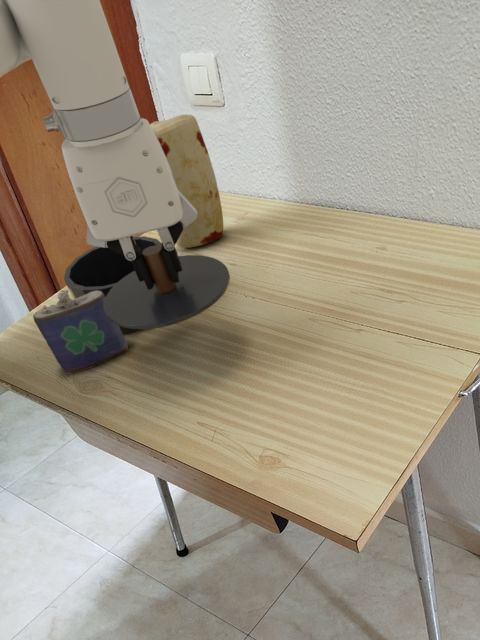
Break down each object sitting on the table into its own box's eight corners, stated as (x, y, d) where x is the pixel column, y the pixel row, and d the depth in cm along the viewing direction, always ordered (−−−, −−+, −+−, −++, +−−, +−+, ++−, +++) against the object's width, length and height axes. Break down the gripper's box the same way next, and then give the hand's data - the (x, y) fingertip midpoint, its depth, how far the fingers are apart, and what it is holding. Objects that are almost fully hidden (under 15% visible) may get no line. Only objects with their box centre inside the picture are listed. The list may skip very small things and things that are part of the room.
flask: (127, 342, 83) (95, 275, 75) (131, 352, 81) (98, 285, 73) (62, 366, 81) (23, 300, 73) (65, 378, 79) (24, 311, 71)
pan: (81, 355, 82) (56, 310, 77) (91, 285, 97) (71, 243, 91) (183, 329, 83) (165, 282, 78) (178, 263, 97) (163, 220, 92)
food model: (183, 258, 98) (139, 132, 84) (171, 244, 103) (128, 122, 89) (236, 238, 101) (202, 112, 87) (223, 225, 105) (188, 103, 91)
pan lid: (103, 347, 66) (79, 301, 62) (110, 280, 78) (90, 237, 73) (237, 312, 67) (223, 264, 63) (225, 251, 78) (212, 207, 74)
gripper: (13, 149, 55) (96, 313, 68) (180, 108, 56) (231, 279, 69) (25, 125, 61) (99, 282, 73) (177, 89, 61) (225, 250, 74)
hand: (163, 279), depth 71 cm, fingers closed on pan lid, 2 cm apart
